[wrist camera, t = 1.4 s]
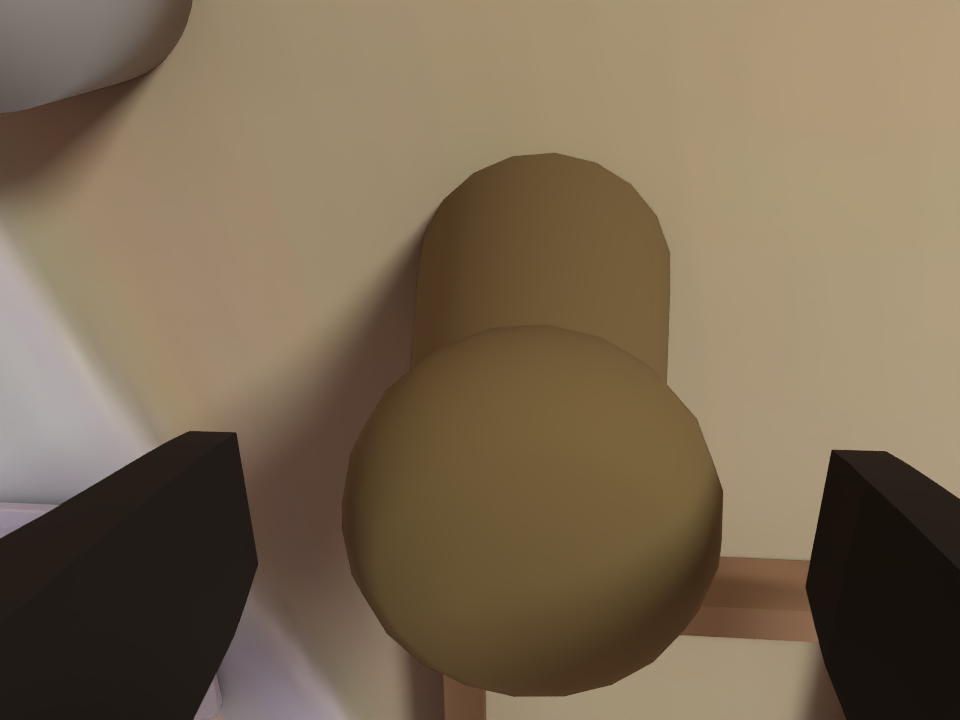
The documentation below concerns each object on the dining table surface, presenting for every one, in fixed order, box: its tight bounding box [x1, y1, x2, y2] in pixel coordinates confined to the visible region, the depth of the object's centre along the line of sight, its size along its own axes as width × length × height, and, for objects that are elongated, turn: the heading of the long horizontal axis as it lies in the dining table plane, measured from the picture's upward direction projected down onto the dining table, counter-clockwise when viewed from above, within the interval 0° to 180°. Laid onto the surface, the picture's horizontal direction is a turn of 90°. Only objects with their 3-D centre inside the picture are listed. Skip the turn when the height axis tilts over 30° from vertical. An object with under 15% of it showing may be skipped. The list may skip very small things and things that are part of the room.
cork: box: [342, 153, 723, 697], centre depth 15 cm, size 6×6×11 cm
